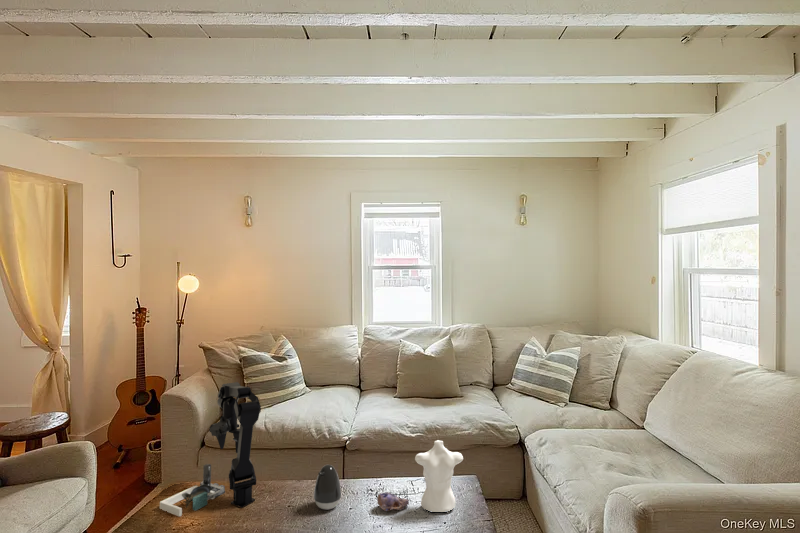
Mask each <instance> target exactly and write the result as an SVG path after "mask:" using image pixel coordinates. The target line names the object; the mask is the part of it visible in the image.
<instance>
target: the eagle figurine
mask: <svg viewBox="0 0 800 533" xmlns="http://www.w3.org/2000/svg"><path fill="white" fill-rule="evenodd" d="M197 486H198V487H196V488H194V489H193V490H192V492H191V494H188V493H183V494H182V497H184V498H185V501H183V503H185V504H186V505H185V508H186V509H187V508H188V507H189V506H190V504H191V502H193V497H195V496H197V495H199V494H201V493H203V492H207V493H209V492H210V491H211V489H212V488H211V486H209V485H201V486H200V485H197Z"/></svg>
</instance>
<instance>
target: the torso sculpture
mask: <svg viewBox="0 0 800 533" xmlns="http://www.w3.org/2000/svg"><path fill="white" fill-rule="evenodd" d="M463 460H464V456H463V454H462V453H461V452H458V451H450V450H449V449H448V448H447V447H445V446H444V441H443V440H440V439H437V440H434V443H433V446H432V448H430V450H428V451H426V452H419V453H417V454H416V455H415V457H414V461H415V462H416V463H417V464H418V465H420V466H422V467H423V471H422V475H423V477H424V480H425V490H424V492H423V494H422V497H421V499H420V506H421V508H422V509H423V510H425V509H426V510H428V511H432V512H445V511H450V510H452V509H453V508H454V509H455V508H456V504H457V503H456V497H455V495H454V492H453V489H452V487H451V485H452V478H453V476H454V468H455V467H456V465H458V464H460V463H461V462H463ZM454 509H453V510H454ZM426 510H425V511H426ZM453 510H452V511H453ZM428 511H427V512H428Z"/></svg>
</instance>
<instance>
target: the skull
mask: <svg viewBox="0 0 800 533" xmlns="http://www.w3.org/2000/svg"><path fill="white" fill-rule="evenodd" d="M376 499H377V500H376V501H377V505H378V507H379V508H381V509H382V510H383V511H385V512H390V511H392V510H396V511H398V510H399V511H402V510H404V509H405V507H406V508H407V509H408V506H409V505H410V501H409V499H408V498H402V497H399V496H397V494H393V493H391V492H386V491H385V492H381V493H379V494H378V496H377V498H376Z"/></svg>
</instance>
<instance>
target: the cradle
mask: <svg viewBox="0 0 800 533" xmlns="http://www.w3.org/2000/svg"><path fill="white" fill-rule="evenodd" d="M219 486H221V487H224V492H223V493H221V494H219V495H217V496H215V498H218V497H220V496H221V495H222V496H223V495H224V494H226V490H225V489H226V488H225V487H226V485H223V484H219ZM212 491H214V492H216V491H218V489H215V488H214V489H212ZM215 498H214V499H215Z"/></svg>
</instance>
